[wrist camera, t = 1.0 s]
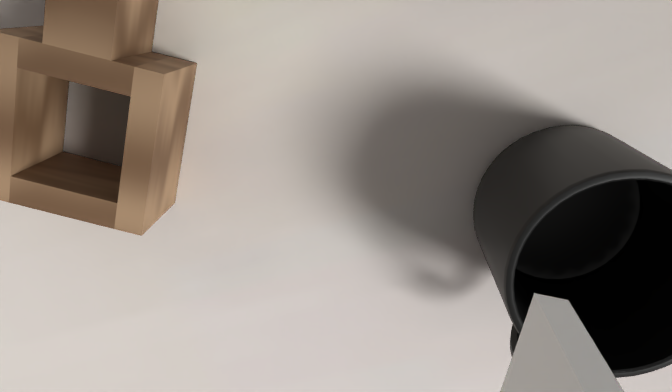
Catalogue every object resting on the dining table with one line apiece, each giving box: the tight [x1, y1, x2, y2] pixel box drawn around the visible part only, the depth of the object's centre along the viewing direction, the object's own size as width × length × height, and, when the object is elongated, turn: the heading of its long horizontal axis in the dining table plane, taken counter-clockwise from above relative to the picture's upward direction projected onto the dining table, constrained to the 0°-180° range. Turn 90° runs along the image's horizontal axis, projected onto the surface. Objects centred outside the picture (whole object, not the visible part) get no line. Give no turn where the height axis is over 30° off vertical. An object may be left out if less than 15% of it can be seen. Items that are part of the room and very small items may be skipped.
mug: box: [473, 126, 672, 378], centre depth 29 cm, size 9×12×9 cm
